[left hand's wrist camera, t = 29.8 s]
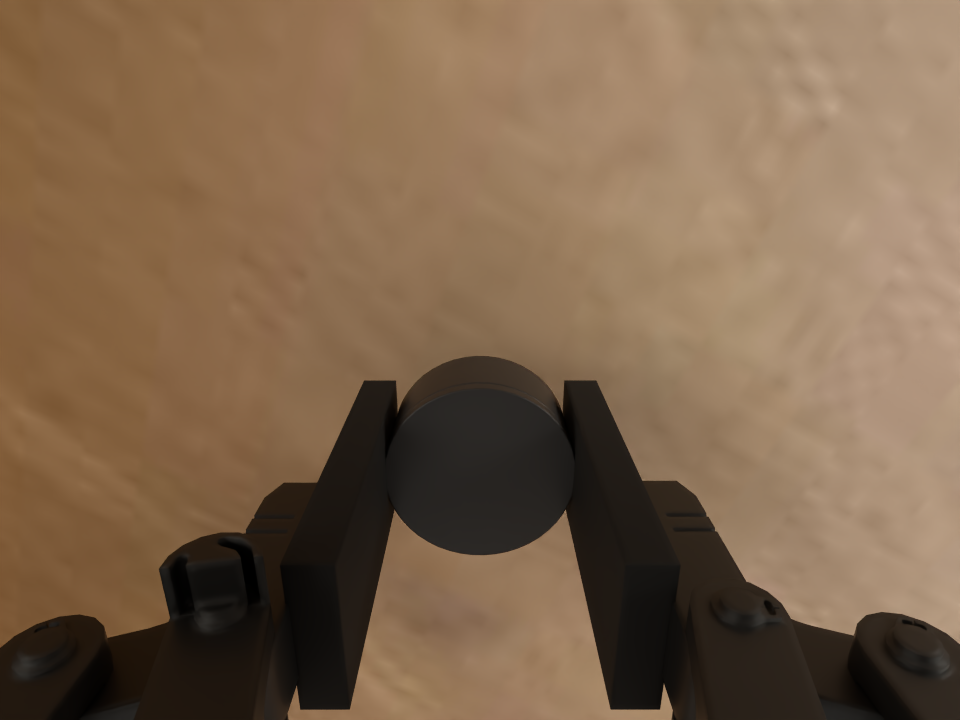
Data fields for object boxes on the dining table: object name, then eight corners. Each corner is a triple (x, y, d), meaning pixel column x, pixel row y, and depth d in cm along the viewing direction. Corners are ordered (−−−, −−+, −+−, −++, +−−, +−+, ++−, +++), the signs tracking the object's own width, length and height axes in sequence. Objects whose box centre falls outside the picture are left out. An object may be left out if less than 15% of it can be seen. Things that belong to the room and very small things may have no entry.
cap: (540, 519, 16) (548, 570, 14) (382, 489, 15) (369, 537, 13) (585, 375, 14) (599, 411, 12) (411, 338, 14) (402, 370, 12)
